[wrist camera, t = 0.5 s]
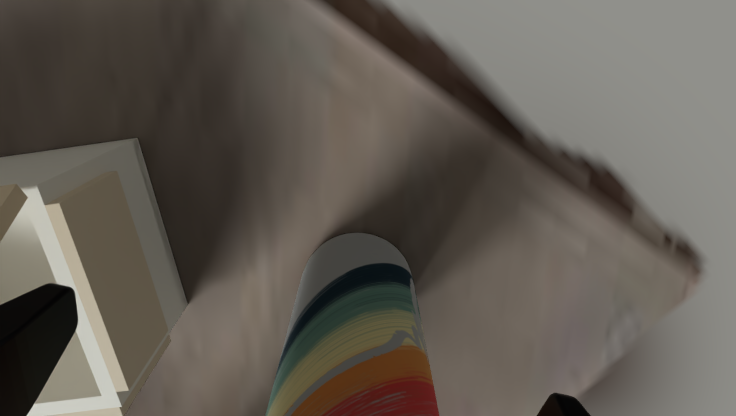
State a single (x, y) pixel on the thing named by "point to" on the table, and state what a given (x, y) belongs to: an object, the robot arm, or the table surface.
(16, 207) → the top flap
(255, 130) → the table surface
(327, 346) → the lotion bottle
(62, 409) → the storage box
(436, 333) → the table surface
